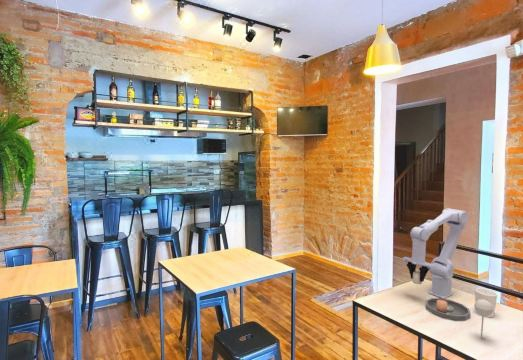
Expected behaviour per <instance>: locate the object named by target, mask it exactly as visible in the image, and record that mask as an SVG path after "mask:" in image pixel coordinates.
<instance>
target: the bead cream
mask: <svg viewBox="0 0 523 360" xmlns="http://www.w3.org/2000/svg"><path fill="white" fill-rule="evenodd" d="M412 283H413V284H415V285H422V283H423V282H420V270H415V271H413V279H412Z"/></svg>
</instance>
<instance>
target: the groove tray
mask: <svg viewBox="0 0 523 360" xmlns="http://www.w3.org/2000/svg"><path fill="white" fill-rule="evenodd" d="M437 300H444V301H446V302H447V314H446V313H442V312H440V311H437V310H436V307H437ZM425 309H426V310H427V311H428V312H430V313H431V315H435V316H436V317H439V318H441V319H444V320H449V321H454V322H460V321H461V322H463V321H467V320H469V319H471V310H470V308H468V307H467V306H465V305H464V304H463V303H460V302H458V301H454V300H452V299H447V298H444V299H443V298H440V297H431V298H429V299H426V300H425Z"/></svg>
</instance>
